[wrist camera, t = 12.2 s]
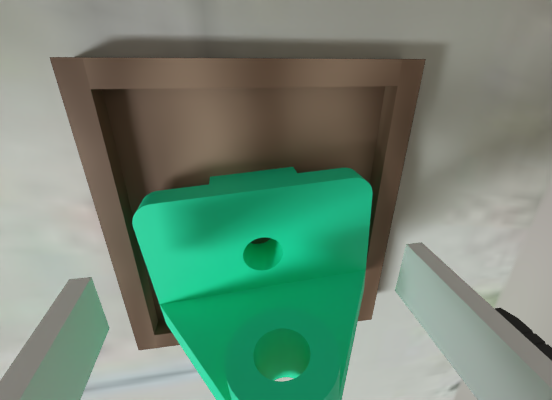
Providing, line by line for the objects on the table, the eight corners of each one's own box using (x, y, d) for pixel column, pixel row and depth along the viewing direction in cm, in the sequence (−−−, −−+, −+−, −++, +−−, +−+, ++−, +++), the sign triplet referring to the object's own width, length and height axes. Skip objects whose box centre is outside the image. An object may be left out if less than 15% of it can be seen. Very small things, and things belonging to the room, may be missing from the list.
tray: (145, 325, 21) (138, 350, 19) (72, 57, 13) (49, 57, 12) (360, 299, 23) (371, 319, 22) (402, 59, 16) (425, 59, 14)
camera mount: (353, 159, 17) (505, 277, 8) (348, 262, 20) (448, 429, 11) (140, 185, 16) (23, 364, 6) (173, 291, 19) (126, 506, 10)
